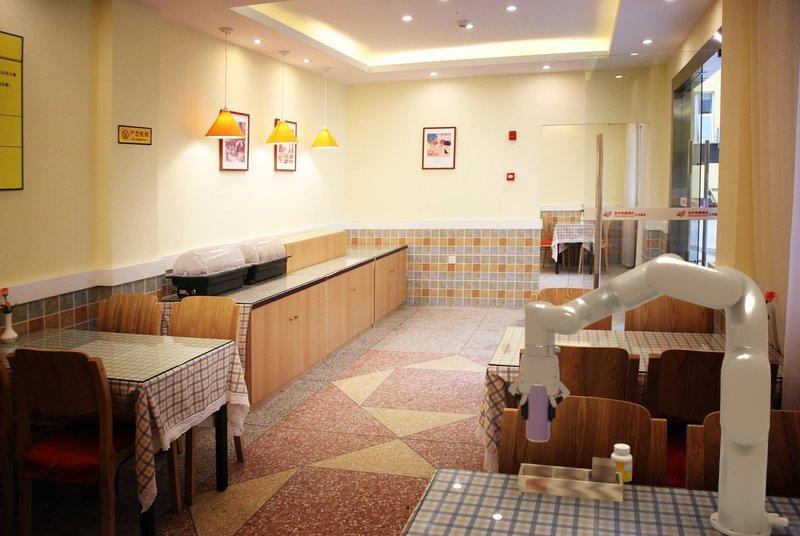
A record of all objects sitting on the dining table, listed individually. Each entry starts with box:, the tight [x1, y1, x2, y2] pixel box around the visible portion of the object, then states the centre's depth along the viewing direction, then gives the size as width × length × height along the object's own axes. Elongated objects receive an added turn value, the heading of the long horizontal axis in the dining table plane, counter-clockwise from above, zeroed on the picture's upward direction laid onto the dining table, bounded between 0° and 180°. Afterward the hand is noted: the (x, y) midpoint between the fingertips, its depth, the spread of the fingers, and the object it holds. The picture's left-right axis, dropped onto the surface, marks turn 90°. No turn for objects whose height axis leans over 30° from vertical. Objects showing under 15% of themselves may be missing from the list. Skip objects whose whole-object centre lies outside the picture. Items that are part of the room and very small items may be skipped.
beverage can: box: [525, 384, 551, 443], centre depth 181 cm, size 6×6×15 cm
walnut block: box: [591, 456, 616, 484], centre depth 178 cm, size 6×6×8 cm
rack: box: [517, 462, 624, 503], centre depth 180 cm, size 25×9×5 cm, turn 75°
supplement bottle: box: [610, 443, 633, 483], centre depth 187 cm, size 5×5×10 cm
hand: (538, 419), depth 181 cm, fingers closed on beverage can, 5 cm apart
